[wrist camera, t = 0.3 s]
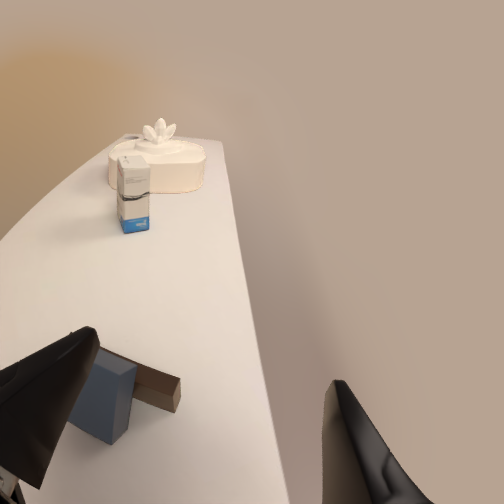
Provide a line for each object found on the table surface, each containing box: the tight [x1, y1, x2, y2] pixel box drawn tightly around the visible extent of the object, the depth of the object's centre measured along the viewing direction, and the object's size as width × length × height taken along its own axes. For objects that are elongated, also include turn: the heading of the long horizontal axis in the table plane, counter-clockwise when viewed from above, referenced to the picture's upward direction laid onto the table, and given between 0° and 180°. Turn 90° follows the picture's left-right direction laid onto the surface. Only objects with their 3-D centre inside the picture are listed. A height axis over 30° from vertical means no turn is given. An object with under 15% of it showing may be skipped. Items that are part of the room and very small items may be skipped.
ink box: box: [117, 155, 151, 233], centre depth 45 cm, size 8×5×12 cm, turn 33°
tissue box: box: [109, 118, 206, 194], centre depth 65 cm, size 25×25×16 cm
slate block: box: [67, 348, 137, 445], centre depth 18 cm, size 7×5×8 cm
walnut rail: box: [70, 332, 181, 413], centre depth 22 cm, size 2×12×4 cm, turn 80°
